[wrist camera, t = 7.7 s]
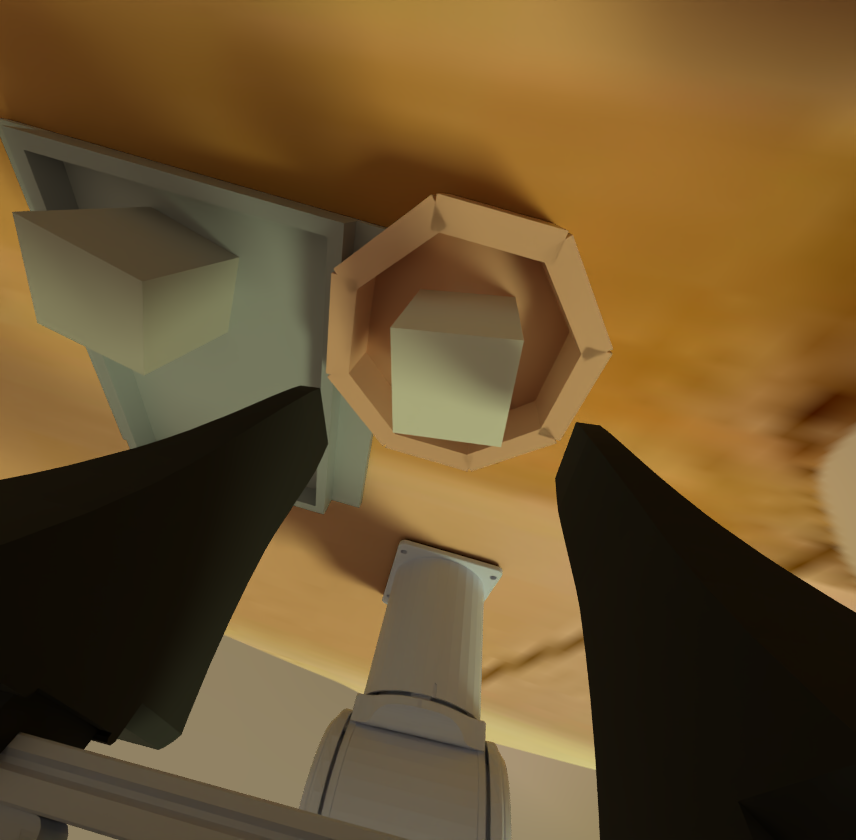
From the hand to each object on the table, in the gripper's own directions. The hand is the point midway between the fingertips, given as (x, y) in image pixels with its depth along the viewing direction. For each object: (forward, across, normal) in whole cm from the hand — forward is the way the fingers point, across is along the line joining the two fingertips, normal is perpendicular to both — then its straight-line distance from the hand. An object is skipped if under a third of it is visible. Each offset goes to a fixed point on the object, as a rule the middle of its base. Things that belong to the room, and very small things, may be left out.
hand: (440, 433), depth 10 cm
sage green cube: (+7, 0, 0) cm, 7 cm away
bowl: (+8, 0, 0) cm, 8 cm away
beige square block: (+7, +13, -2) cm, 15 cm away
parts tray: (+8, +13, +3) cm, 15 cm away
